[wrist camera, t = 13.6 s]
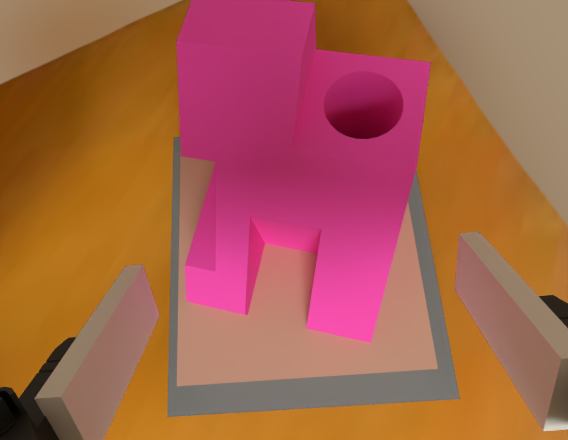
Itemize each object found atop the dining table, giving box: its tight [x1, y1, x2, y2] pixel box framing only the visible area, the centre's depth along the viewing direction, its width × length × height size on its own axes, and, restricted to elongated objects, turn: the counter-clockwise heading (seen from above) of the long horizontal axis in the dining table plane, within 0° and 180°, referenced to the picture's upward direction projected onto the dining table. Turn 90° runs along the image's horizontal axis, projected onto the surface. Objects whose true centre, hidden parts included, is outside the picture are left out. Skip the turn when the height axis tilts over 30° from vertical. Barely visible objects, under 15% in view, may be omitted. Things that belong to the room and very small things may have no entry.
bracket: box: [177, 0, 431, 343], centre depth 19 cm, size 12×10×10 cm
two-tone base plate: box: [167, 137, 460, 417], centre depth 28 cm, size 18×20×9 cm
